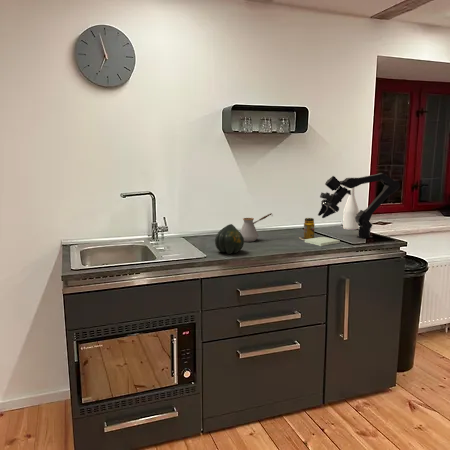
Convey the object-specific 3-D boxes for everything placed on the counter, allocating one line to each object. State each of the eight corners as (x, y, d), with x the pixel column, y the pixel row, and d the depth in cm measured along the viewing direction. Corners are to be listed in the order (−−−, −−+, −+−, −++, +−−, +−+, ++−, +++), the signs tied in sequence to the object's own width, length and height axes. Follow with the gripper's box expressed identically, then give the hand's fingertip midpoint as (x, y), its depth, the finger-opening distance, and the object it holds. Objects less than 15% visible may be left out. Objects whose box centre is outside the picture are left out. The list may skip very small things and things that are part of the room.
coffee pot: (243, 243, 247) (243, 216, 245) (235, 239, 258) (235, 214, 255) (277, 239, 255) (277, 214, 252) (268, 236, 265) (268, 211, 263)
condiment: (316, 239, 254) (316, 219, 252) (302, 240, 253) (302, 219, 251) (312, 237, 261) (312, 217, 259) (298, 237, 260) (298, 217, 258)
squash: (216, 246, 214) (234, 221, 216) (205, 242, 228) (222, 219, 230) (237, 262, 219) (254, 238, 222) (225, 257, 233) (241, 235, 235)
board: (322, 239, 255) (322, 236, 254) (339, 242, 244) (339, 240, 243) (304, 242, 247) (304, 239, 247) (321, 246, 236) (321, 243, 236)
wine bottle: (343, 230, 283) (345, 183, 278) (342, 227, 292) (343, 182, 287) (359, 230, 281) (360, 183, 276) (357, 227, 290) (358, 182, 286)
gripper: (323, 185, 261) (306, 205, 263) (332, 188, 243) (313, 209, 245) (337, 197, 263) (320, 217, 264) (347, 201, 244) (328, 222, 246)
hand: (320, 216), depth 255 cm, fingers open, 9 cm apart
